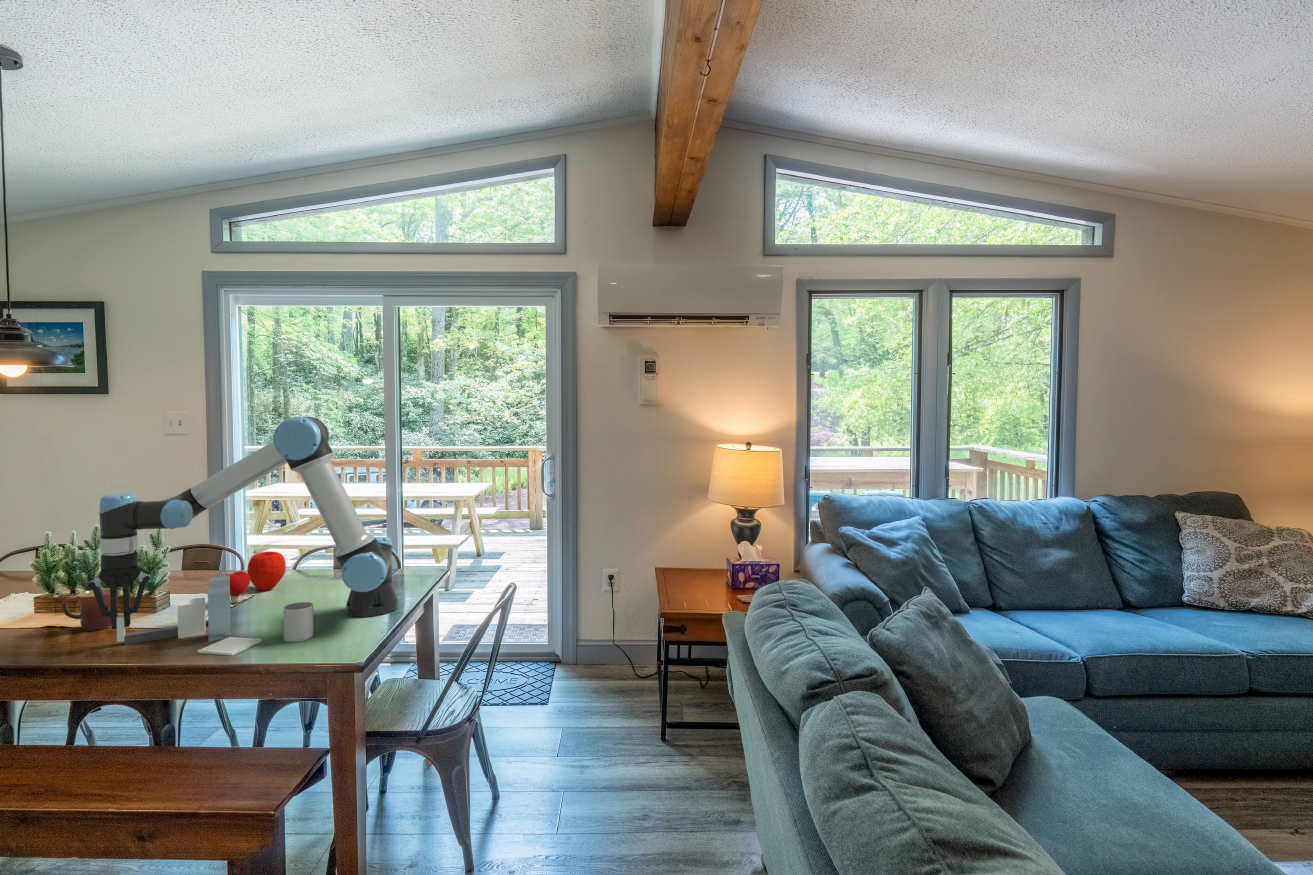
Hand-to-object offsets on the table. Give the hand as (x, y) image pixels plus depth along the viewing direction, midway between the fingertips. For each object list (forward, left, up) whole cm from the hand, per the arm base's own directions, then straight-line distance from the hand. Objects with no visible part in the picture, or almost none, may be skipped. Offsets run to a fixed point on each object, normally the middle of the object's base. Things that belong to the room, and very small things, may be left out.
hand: (121, 639), depth 168 cm
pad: (-30, -3, -1) cm, 30 cm away
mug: (+20, -9, -2) cm, 22 cm away
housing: (-16, -15, -1) cm, 22 cm away
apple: (+1, -53, -2) cm, 53 cm away
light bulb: (-1, -37, -2) cm, 37 cm away
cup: (-42, -14, -2) cm, 44 cm away
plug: (-7, -7, -1) cm, 10 cm away
